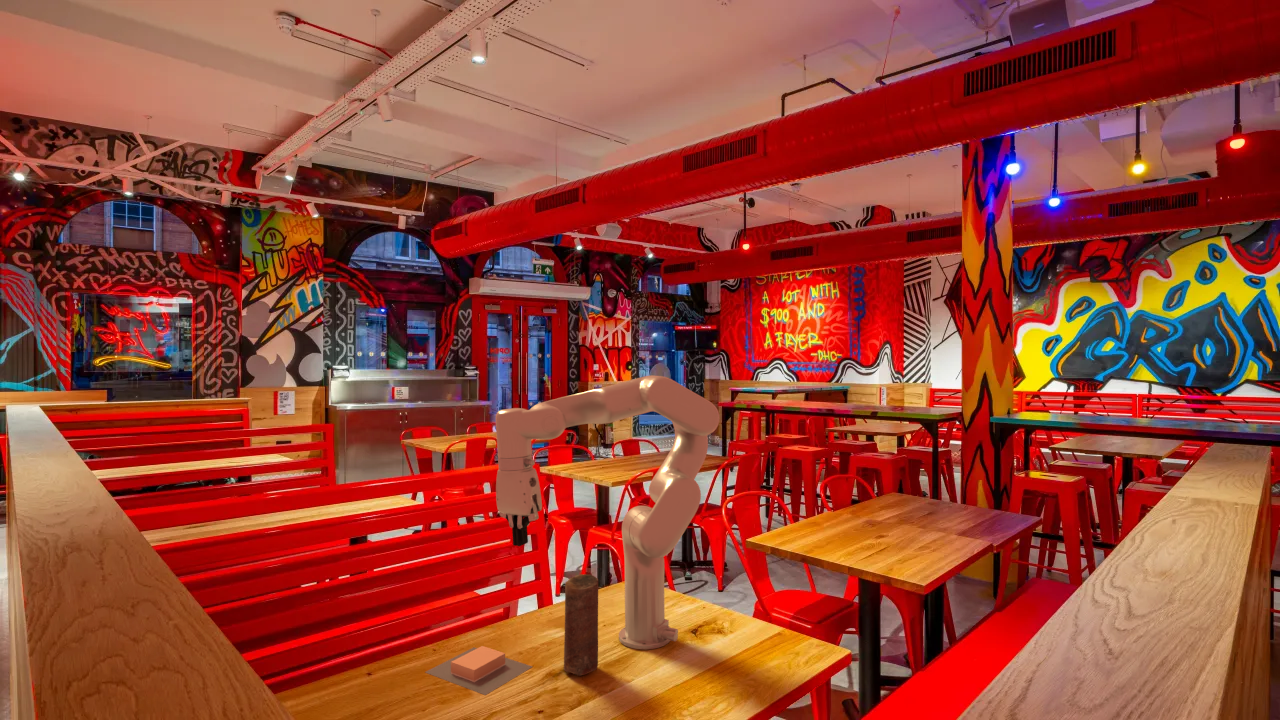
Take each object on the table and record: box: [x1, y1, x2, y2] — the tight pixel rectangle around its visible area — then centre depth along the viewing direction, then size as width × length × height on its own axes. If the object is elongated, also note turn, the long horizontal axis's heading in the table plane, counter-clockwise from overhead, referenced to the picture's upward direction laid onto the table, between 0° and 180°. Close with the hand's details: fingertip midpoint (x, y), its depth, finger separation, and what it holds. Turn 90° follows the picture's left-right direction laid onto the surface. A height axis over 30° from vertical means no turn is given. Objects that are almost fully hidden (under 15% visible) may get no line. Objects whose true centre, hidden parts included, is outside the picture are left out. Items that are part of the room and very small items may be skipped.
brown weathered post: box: [563, 573, 599, 677], centre depth 144 cm, size 8×7×20 cm
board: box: [424, 646, 533, 696], centre depth 143 cm, size 18×14×1 cm
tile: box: [451, 645, 506, 682], centre depth 144 cm, size 2×9×7 cm
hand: (520, 544), depth 151 cm, fingers closed
